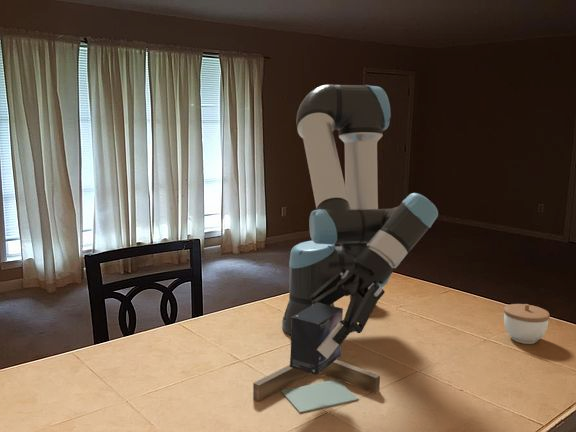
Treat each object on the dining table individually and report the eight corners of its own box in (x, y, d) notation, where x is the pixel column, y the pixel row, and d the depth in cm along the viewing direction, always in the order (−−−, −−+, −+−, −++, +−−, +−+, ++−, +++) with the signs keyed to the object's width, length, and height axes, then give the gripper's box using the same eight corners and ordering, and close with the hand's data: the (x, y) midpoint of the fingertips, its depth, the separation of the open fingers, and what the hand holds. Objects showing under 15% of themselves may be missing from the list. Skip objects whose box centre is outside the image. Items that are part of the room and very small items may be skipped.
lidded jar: (509, 328, 150) (512, 295, 149) (551, 338, 144) (555, 304, 142) (495, 339, 142) (498, 305, 141) (539, 351, 136) (543, 315, 134)
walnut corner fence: (253, 399, 111) (253, 382, 110) (315, 366, 126) (315, 351, 125) (320, 431, 100) (320, 413, 100) (379, 391, 115) (380, 375, 114)
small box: (318, 376, 104) (319, 323, 102) (288, 368, 107) (289, 316, 105) (342, 356, 113) (344, 307, 111) (314, 349, 116) (315, 301, 114)
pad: (281, 391, 114) (281, 390, 114) (336, 380, 119) (336, 379, 119) (299, 413, 106) (299, 411, 106) (358, 400, 111) (358, 398, 111)
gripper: (425, 285, 103) (349, 378, 100) (360, 257, 124) (296, 333, 120) (402, 260, 100) (324, 355, 97) (340, 235, 121) (273, 313, 117)
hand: (308, 343), depth 108 cm, fingers closed on small box, 10 cm apart
